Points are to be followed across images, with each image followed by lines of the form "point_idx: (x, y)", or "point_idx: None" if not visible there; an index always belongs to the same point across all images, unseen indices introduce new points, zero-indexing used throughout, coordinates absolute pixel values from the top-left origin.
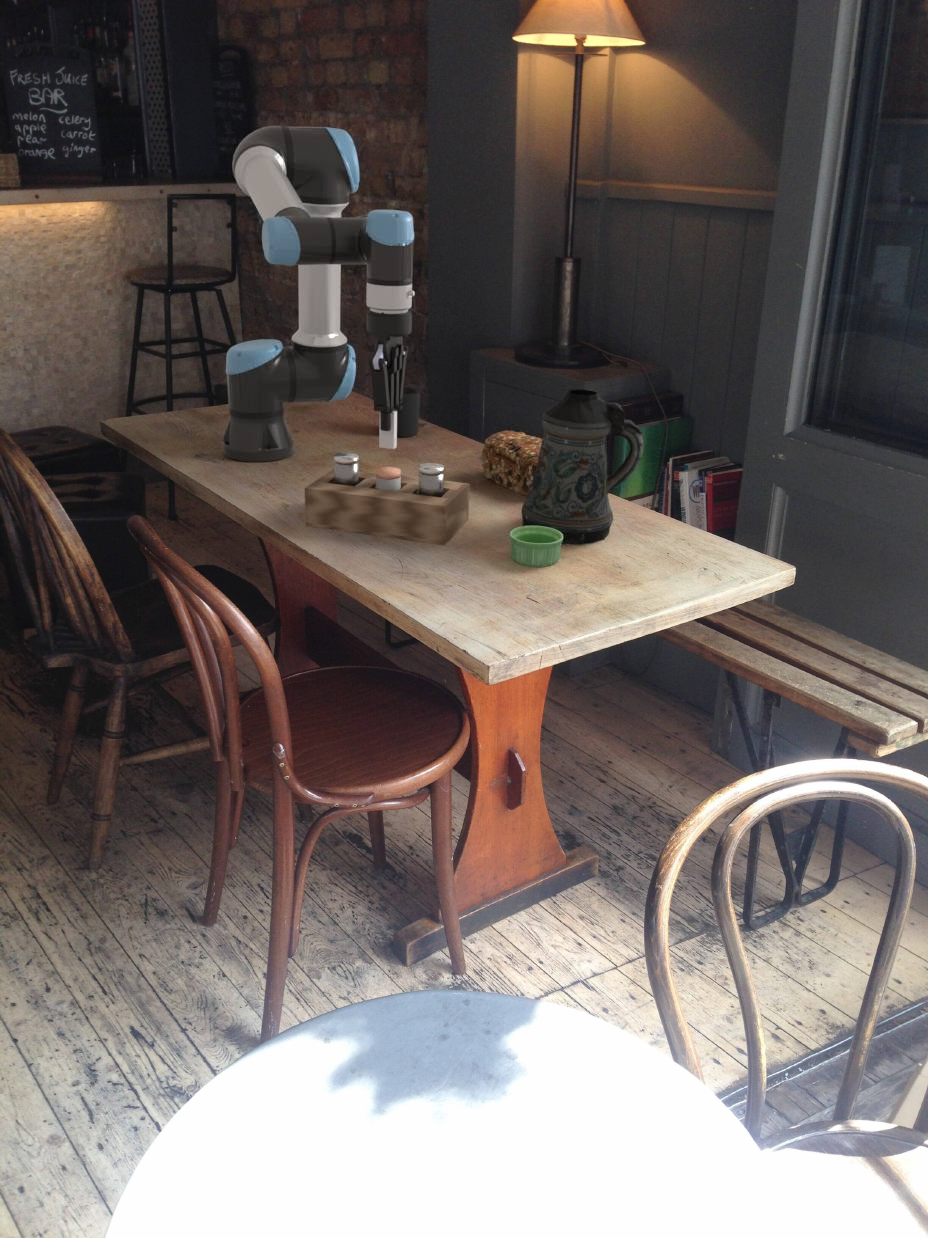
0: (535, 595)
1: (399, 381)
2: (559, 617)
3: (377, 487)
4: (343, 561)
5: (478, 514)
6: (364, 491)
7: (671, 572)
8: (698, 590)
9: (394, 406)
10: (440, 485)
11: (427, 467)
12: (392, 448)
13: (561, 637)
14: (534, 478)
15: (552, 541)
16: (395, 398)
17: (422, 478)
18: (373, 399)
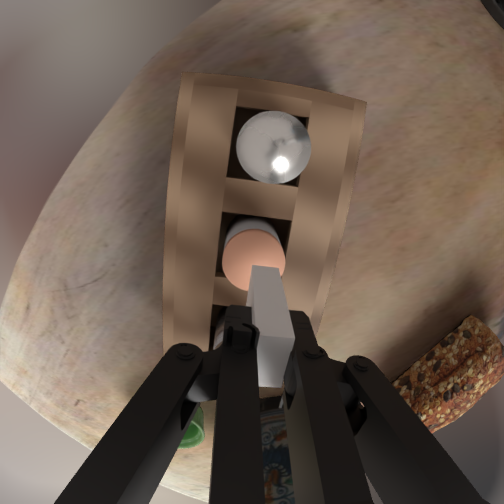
0: (87, 405)
1: (367, 464)
2: (61, 413)
3: (233, 229)
4: (67, 205)
5: (323, 344)
6: (194, 209)
7: (191, 476)
8: (163, 481)
9: (284, 390)
10: None
11: None
12: (246, 303)
13: (36, 409)
14: (278, 457)
15: (193, 433)
16: (285, 420)
17: (216, 341)
18: (147, 377)
